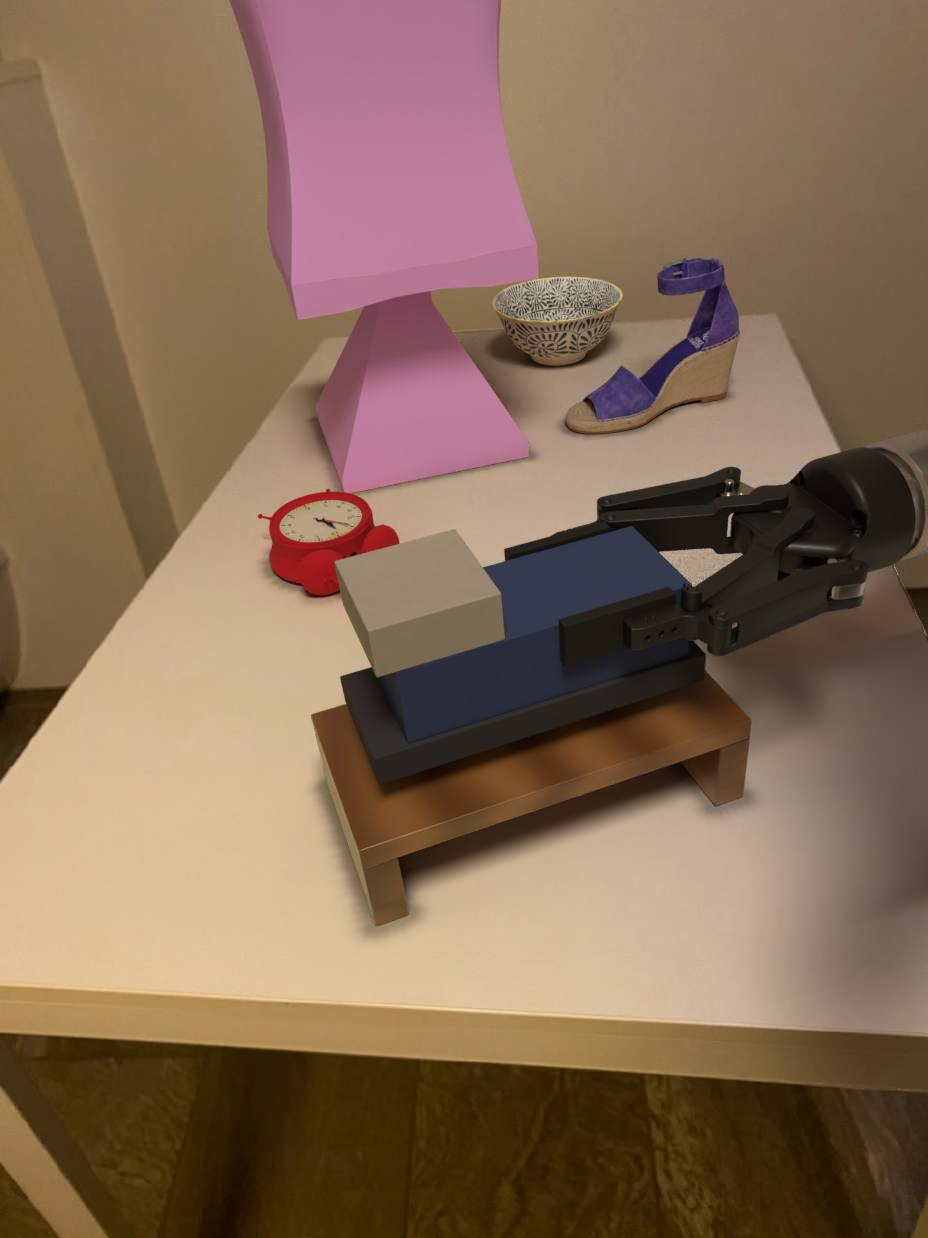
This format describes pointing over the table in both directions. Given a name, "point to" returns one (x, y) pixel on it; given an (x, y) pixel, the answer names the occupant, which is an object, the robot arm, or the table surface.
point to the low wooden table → (522, 776)
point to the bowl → (558, 316)
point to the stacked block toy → (493, 644)
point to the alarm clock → (322, 537)
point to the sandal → (671, 358)
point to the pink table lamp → (391, 216)
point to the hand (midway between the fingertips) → (534, 605)
